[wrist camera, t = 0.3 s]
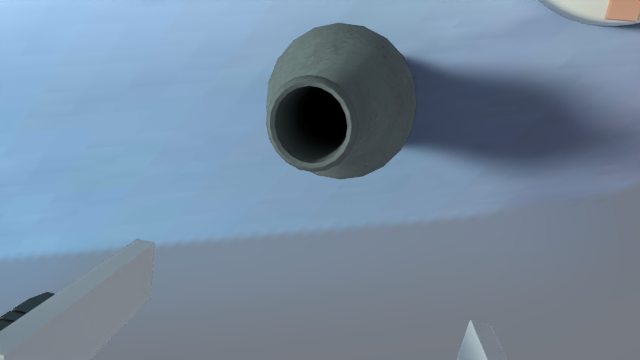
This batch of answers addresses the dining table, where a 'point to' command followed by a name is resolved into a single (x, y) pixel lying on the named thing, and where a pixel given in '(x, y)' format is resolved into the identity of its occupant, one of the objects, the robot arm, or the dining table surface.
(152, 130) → the dining table surface
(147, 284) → the robot arm
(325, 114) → the bottle
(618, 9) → the wheel base
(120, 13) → the dining table surface
